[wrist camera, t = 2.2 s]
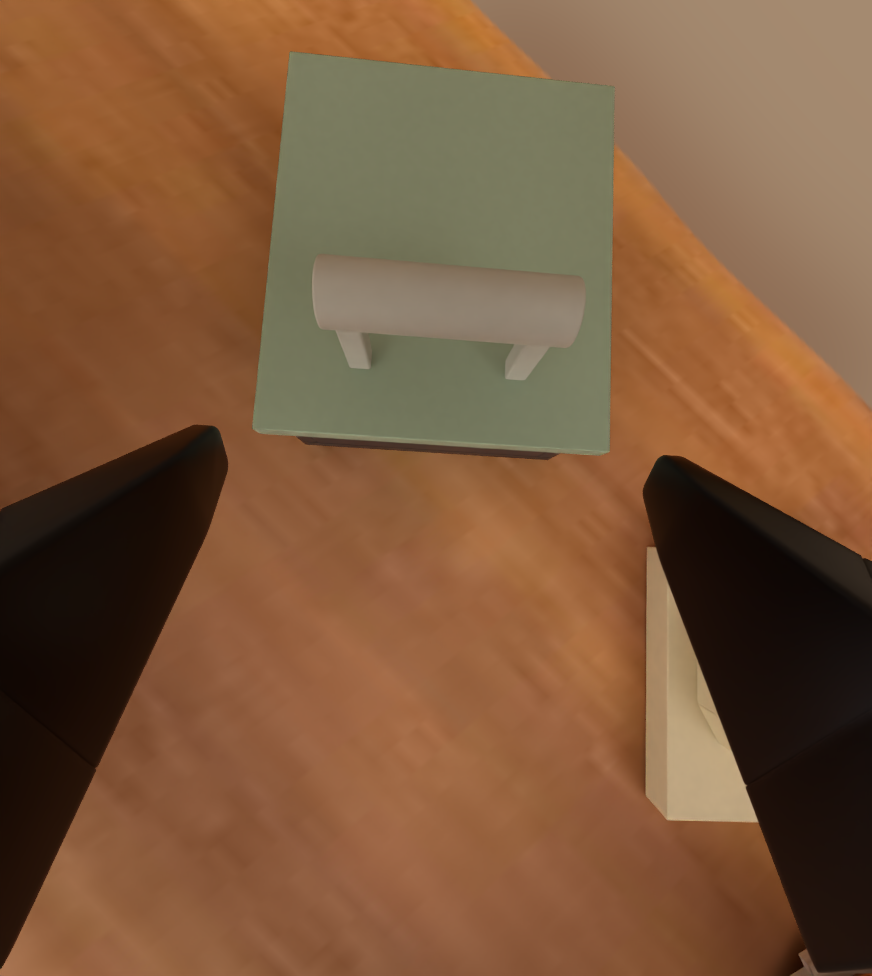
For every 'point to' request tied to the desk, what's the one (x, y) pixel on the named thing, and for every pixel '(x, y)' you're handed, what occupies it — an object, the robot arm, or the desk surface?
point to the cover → (440, 259)
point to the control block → (684, 722)
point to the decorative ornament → (809, 972)
